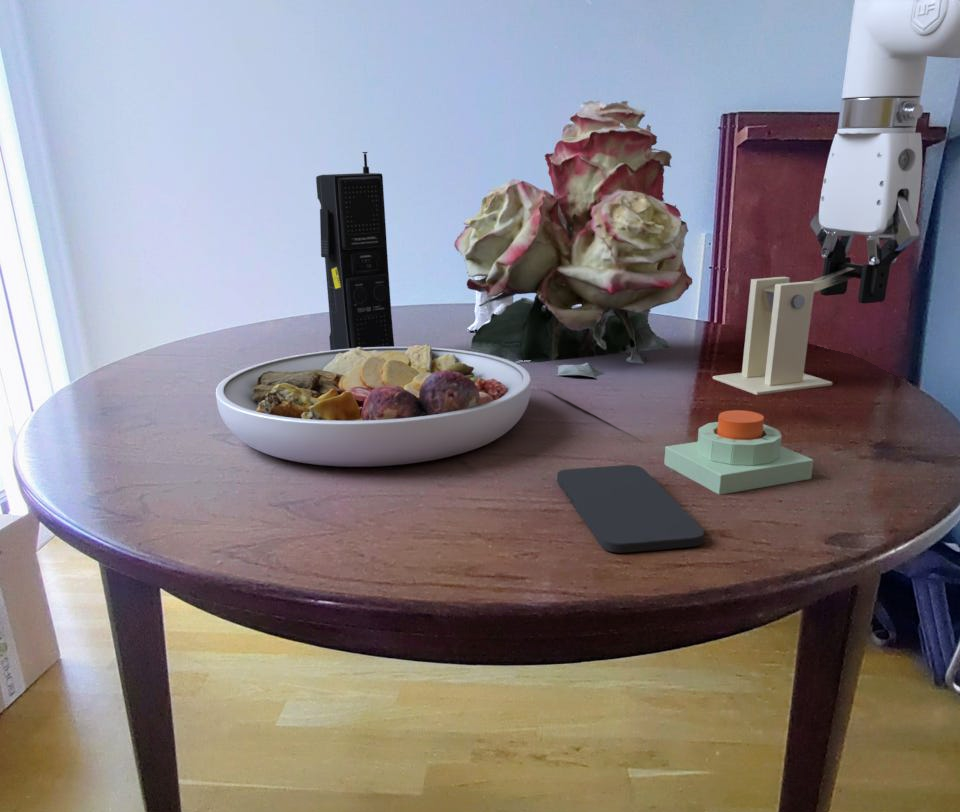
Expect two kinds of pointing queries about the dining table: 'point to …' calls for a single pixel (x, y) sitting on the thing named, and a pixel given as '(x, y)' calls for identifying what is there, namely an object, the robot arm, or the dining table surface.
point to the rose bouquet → (580, 247)
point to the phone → (628, 509)
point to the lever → (821, 281)
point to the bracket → (776, 339)
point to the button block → (737, 461)
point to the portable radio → (355, 259)
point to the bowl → (374, 404)
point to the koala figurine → (487, 307)
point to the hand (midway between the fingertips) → (851, 296)
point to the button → (740, 425)
